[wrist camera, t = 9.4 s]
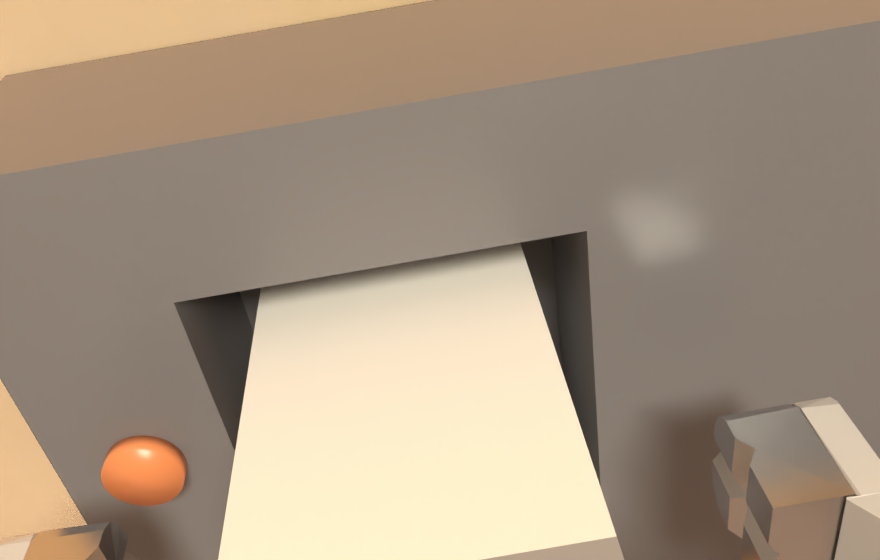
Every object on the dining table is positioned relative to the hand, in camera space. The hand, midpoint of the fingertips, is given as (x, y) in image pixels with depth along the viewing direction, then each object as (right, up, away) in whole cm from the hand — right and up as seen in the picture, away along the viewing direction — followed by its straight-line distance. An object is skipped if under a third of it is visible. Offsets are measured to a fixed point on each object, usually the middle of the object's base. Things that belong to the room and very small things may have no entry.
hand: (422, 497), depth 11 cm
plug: (0, +2, +4) cm, 5 cm away
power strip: (+5, +4, +5) cm, 8 cm away
